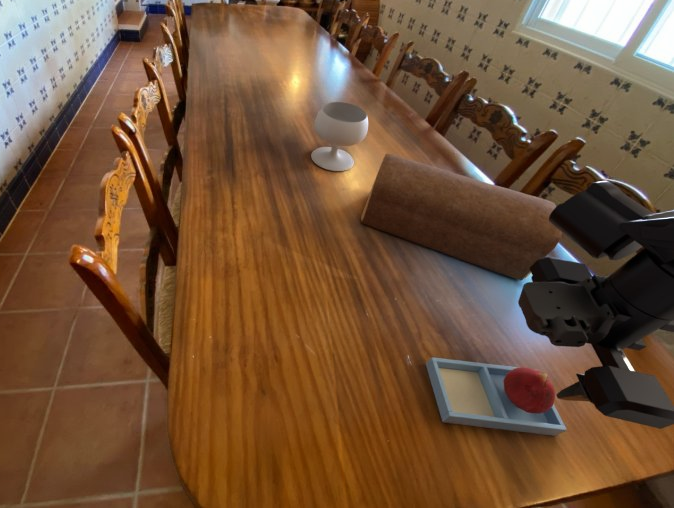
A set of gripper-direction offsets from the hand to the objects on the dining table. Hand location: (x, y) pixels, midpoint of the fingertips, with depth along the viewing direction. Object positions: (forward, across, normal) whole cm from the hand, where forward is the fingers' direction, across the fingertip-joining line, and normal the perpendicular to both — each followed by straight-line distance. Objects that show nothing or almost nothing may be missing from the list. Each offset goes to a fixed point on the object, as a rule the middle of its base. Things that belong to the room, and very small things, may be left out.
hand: (545, 360), depth 47 cm
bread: (+14, -36, -1) cm, 38 cm away
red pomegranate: (+12, 0, +3) cm, 12 cm away
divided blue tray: (+12, +1, -1) cm, 12 cm away
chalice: (+15, -59, -26) cm, 66 cm away
